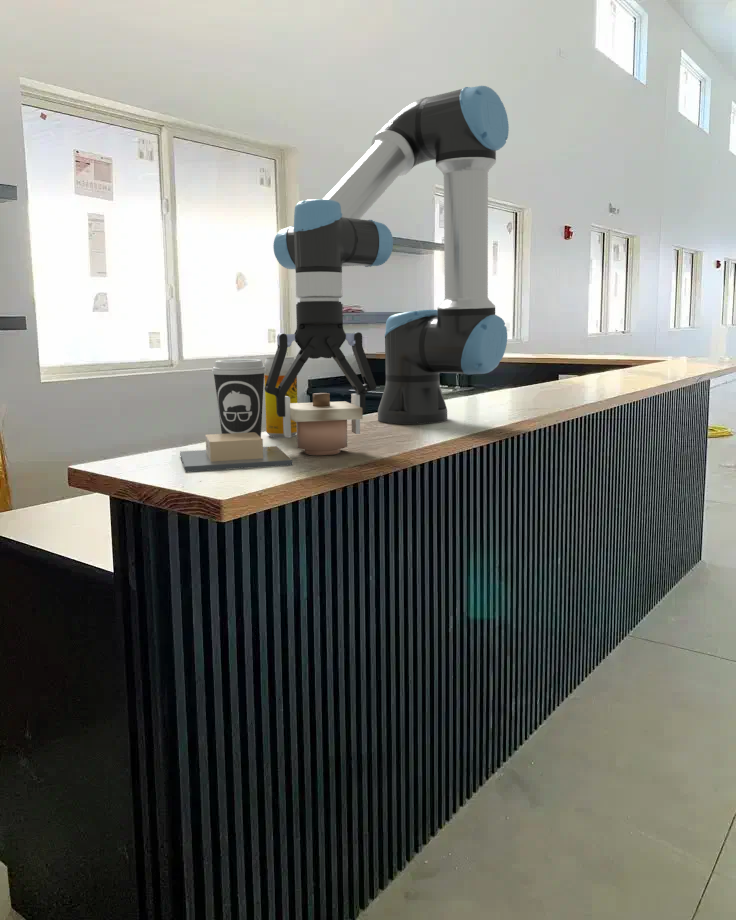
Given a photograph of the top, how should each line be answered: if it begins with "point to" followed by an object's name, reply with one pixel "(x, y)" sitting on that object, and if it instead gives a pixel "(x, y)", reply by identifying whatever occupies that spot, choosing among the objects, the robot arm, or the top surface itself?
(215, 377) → the coffee cup
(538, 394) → the top surface
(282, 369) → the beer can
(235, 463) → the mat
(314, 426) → the bowl
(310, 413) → the lid
